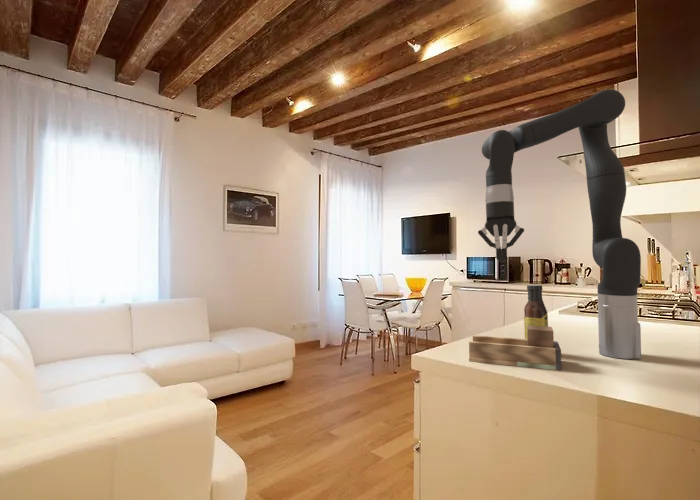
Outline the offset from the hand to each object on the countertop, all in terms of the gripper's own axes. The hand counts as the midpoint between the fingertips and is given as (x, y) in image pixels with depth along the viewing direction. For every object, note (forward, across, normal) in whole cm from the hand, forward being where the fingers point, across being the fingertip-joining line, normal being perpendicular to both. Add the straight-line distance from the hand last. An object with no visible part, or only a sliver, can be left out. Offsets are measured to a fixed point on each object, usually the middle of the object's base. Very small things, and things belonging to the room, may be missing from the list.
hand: (501, 261), depth 108 cm
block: (+26, -9, +5) cm, 28 cm away
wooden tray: (+27, -2, +5) cm, 27 cm away
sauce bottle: (+27, -8, -6) cm, 29 cm away
